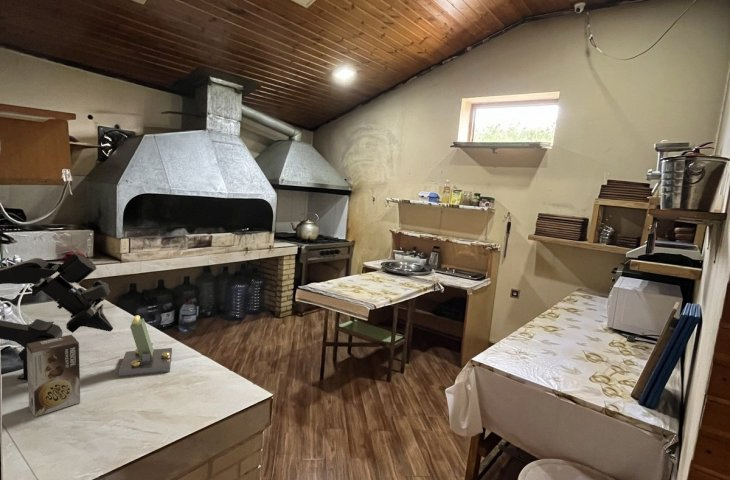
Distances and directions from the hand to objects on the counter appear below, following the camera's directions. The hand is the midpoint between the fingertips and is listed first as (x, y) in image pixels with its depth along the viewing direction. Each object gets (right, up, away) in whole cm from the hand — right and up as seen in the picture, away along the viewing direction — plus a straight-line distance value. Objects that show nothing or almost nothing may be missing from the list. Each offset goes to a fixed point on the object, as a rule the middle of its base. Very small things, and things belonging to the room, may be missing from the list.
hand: (111, 330), depth 113 cm
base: (+8, -12, +5) cm, 15 cm away
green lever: (+8, -9, +5) cm, 13 cm away
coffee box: (-2, -14, -18) cm, 23 cm away
